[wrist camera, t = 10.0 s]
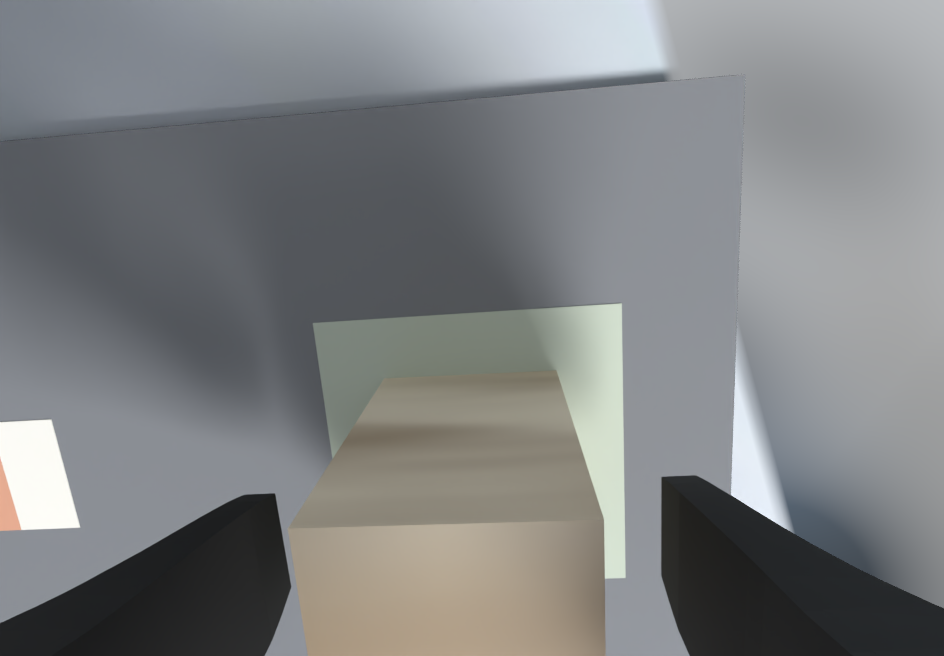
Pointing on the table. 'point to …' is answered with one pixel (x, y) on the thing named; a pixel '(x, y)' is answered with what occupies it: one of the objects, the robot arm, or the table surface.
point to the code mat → (362, 312)
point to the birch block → (455, 526)
